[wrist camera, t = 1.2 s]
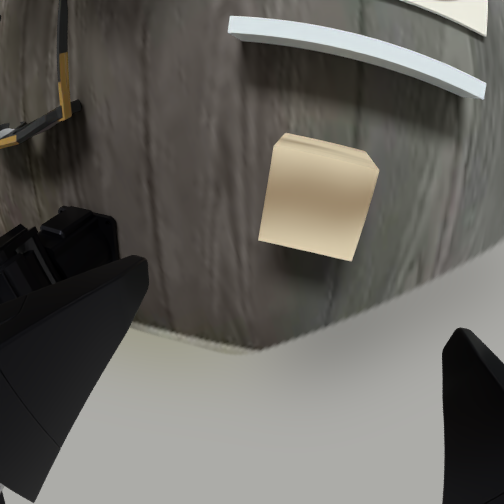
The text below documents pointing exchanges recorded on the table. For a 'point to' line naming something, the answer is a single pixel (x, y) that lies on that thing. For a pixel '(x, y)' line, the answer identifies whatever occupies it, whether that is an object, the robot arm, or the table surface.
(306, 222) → the maple block
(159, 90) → the table surface
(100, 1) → the table surface
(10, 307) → the robot arm
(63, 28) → the sunglasses
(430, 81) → the low wall
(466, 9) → the pad
